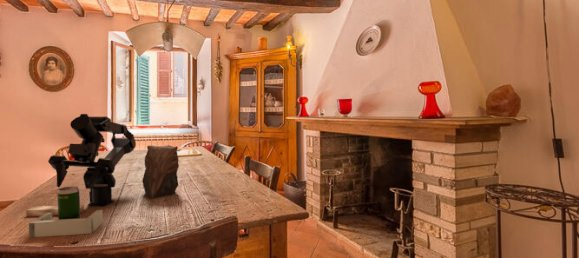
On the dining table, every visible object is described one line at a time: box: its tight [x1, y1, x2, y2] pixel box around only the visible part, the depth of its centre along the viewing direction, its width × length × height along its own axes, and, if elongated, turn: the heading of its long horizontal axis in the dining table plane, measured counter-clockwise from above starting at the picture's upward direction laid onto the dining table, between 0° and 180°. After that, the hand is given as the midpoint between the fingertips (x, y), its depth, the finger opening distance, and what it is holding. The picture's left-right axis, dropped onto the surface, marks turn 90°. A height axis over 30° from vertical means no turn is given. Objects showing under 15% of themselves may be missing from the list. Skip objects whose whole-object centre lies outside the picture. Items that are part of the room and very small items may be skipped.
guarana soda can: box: [56, 185, 81, 220], centre depth 96 cm, size 5×5×12 cm
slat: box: [25, 204, 85, 217], centre depth 111 cm, size 16×4×2 cm, turn 96°
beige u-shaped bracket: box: [28, 209, 104, 238], centre depth 96 cm, size 9×16×4 cm, turn 101°
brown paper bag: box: [142, 144, 180, 200], centre depth 136 cm, size 13×13×20 cm
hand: (73, 187), depth 105 cm, fingers open, 9 cm apart
